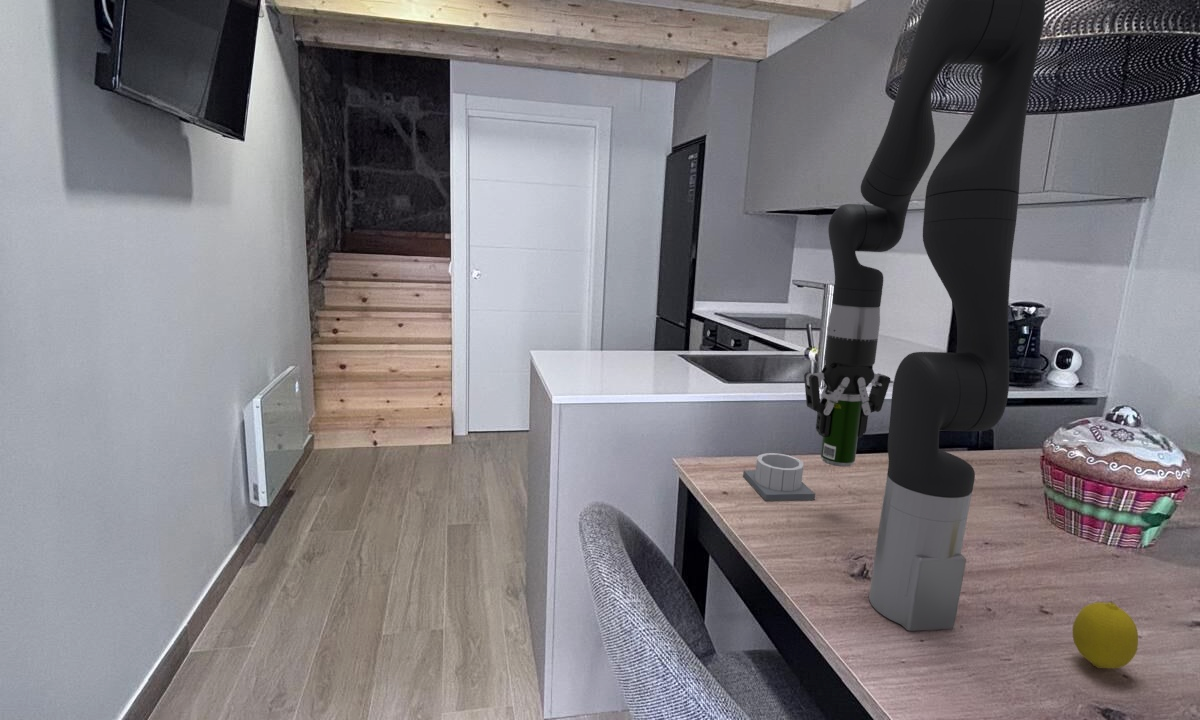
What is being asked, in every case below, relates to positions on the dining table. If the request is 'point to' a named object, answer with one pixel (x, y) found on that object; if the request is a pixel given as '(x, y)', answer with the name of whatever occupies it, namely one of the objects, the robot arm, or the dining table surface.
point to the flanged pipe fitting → (779, 478)
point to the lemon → (1105, 635)
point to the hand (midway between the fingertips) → (840, 435)
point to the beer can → (843, 431)
